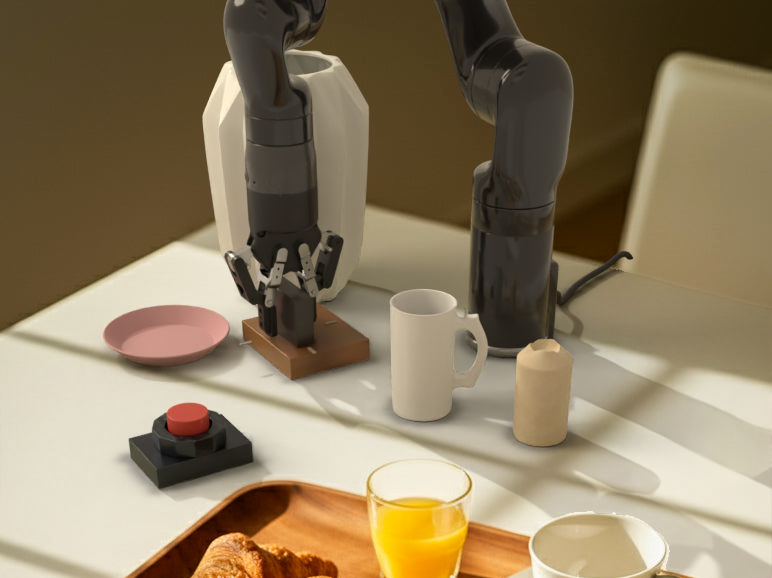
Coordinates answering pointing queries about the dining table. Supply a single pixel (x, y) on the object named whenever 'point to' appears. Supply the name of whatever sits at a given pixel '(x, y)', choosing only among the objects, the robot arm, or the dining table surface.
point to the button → (188, 419)
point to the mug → (429, 353)
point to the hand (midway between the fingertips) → (288, 329)
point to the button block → (189, 451)
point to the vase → (333, 150)
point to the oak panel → (310, 346)
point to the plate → (166, 334)
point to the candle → (542, 393)
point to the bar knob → (294, 314)
